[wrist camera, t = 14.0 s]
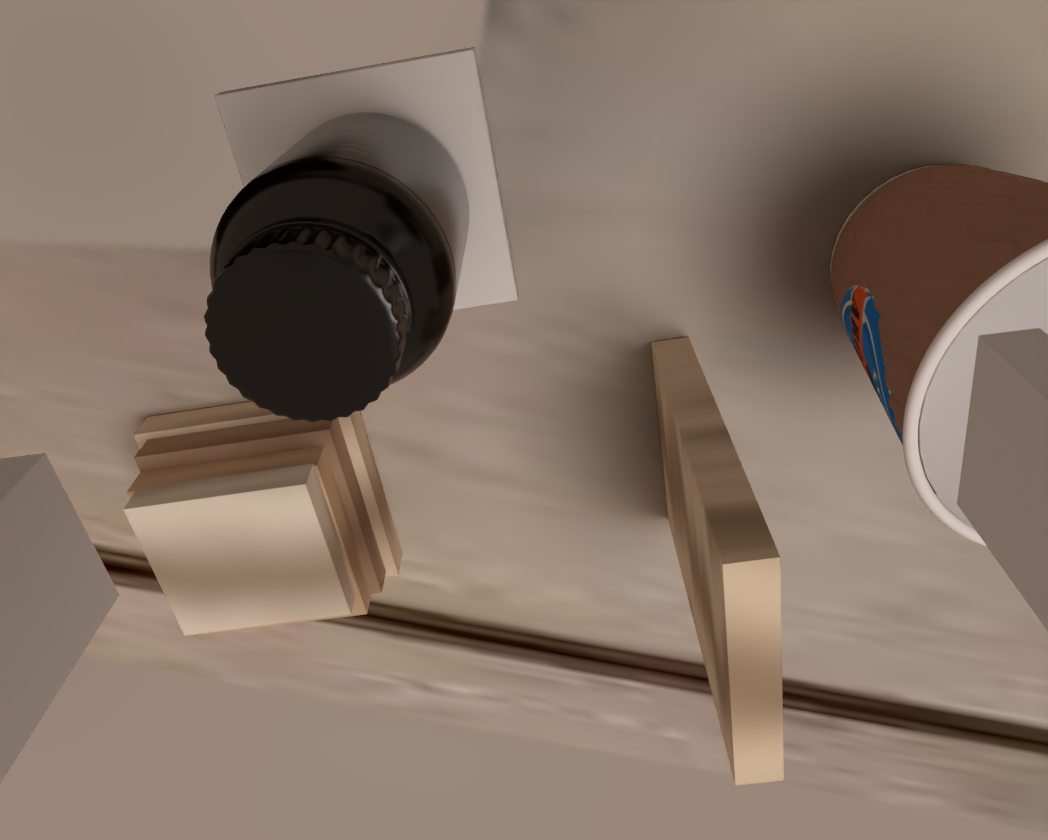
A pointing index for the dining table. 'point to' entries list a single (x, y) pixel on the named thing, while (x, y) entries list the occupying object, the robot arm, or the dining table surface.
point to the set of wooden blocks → (374, 552)
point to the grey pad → (415, 96)
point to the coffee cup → (939, 302)
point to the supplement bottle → (337, 267)
